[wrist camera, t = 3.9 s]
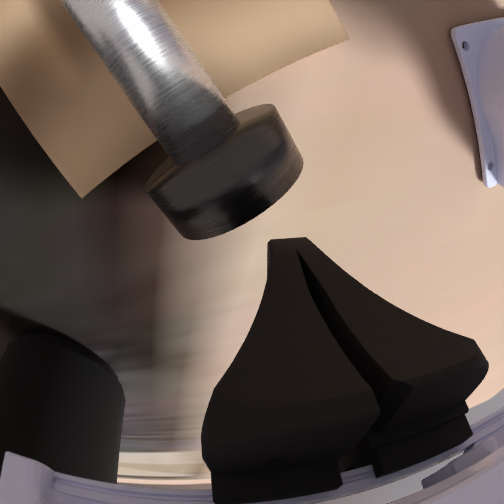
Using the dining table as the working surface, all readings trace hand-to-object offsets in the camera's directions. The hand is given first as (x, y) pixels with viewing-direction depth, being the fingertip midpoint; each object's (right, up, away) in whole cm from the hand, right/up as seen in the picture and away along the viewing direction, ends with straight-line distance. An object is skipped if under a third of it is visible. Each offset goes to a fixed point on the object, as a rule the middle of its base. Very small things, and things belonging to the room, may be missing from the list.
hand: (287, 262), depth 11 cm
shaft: (-6, +9, -5) cm, 11 cm away
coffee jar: (-16, -9, +9) cm, 21 cm away
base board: (-8, +14, -6) cm, 17 cm away
